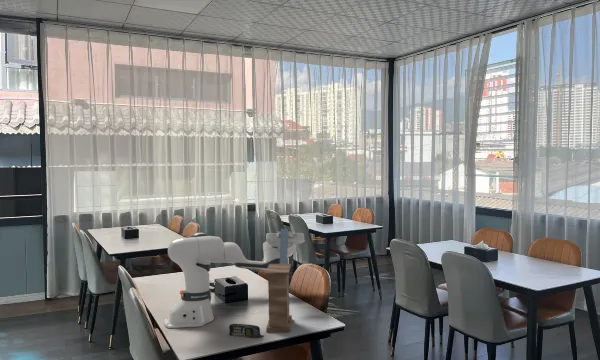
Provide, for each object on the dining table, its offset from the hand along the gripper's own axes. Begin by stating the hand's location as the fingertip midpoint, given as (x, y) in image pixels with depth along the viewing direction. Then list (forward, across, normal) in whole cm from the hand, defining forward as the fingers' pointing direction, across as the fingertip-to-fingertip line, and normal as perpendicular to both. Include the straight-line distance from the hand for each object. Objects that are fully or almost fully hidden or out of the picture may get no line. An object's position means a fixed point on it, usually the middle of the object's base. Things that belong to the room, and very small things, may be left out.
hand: (284, 232), depth 235 cm
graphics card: (-37, +42, -22) cm, 60 cm away
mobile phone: (+21, +13, -54) cm, 60 cm away
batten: (-2, 0, -11) cm, 11 cm away
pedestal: (+11, 0, -48) cm, 49 cm away
